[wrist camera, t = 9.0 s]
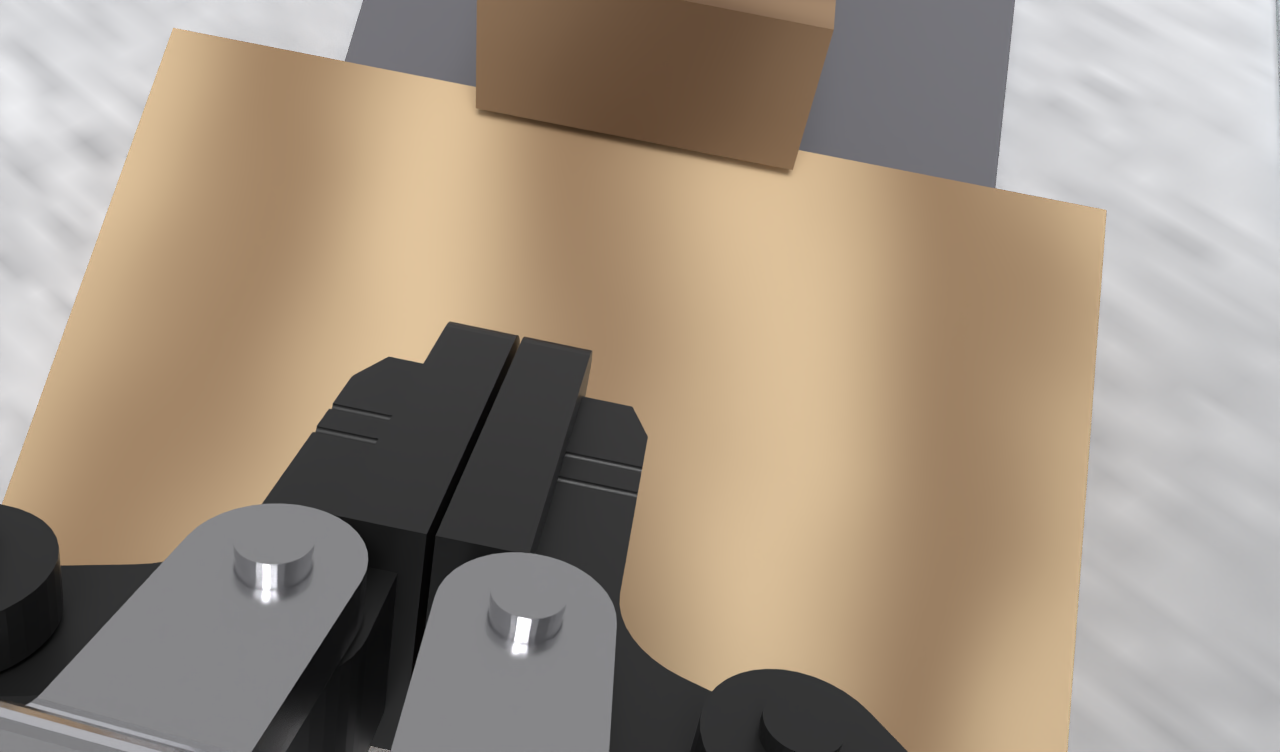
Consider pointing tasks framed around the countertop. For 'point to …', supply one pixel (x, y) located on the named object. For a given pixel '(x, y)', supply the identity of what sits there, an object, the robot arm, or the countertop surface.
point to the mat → (847, 89)
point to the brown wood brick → (660, 69)
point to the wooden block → (615, 367)
